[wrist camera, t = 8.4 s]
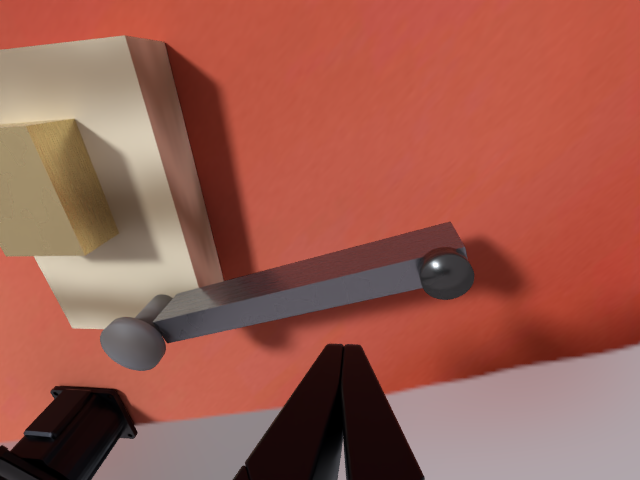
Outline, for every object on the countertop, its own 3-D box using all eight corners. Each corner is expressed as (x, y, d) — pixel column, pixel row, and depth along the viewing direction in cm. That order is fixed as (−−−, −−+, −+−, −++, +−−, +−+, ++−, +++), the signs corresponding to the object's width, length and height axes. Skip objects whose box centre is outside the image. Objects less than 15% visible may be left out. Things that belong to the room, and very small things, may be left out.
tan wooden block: (119, 233, 18) (84, 255, 16) (48, 234, 19) (6, 256, 16) (74, 118, 15) (25, 126, 13) (-6, 124, 16) (-66, 132, 14)
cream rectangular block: (229, 302, 23) (184, 378, 17) (103, 300, 25) (24, 369, 19) (164, 42, 16) (53, 24, 10) (-7, 60, 18) (-188, 54, 12)
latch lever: (191, 316, 20) (161, 358, 17) (174, 290, 19) (140, 329, 16) (457, 253, 16) (478, 293, 13) (449, 216, 15) (469, 251, 12)
